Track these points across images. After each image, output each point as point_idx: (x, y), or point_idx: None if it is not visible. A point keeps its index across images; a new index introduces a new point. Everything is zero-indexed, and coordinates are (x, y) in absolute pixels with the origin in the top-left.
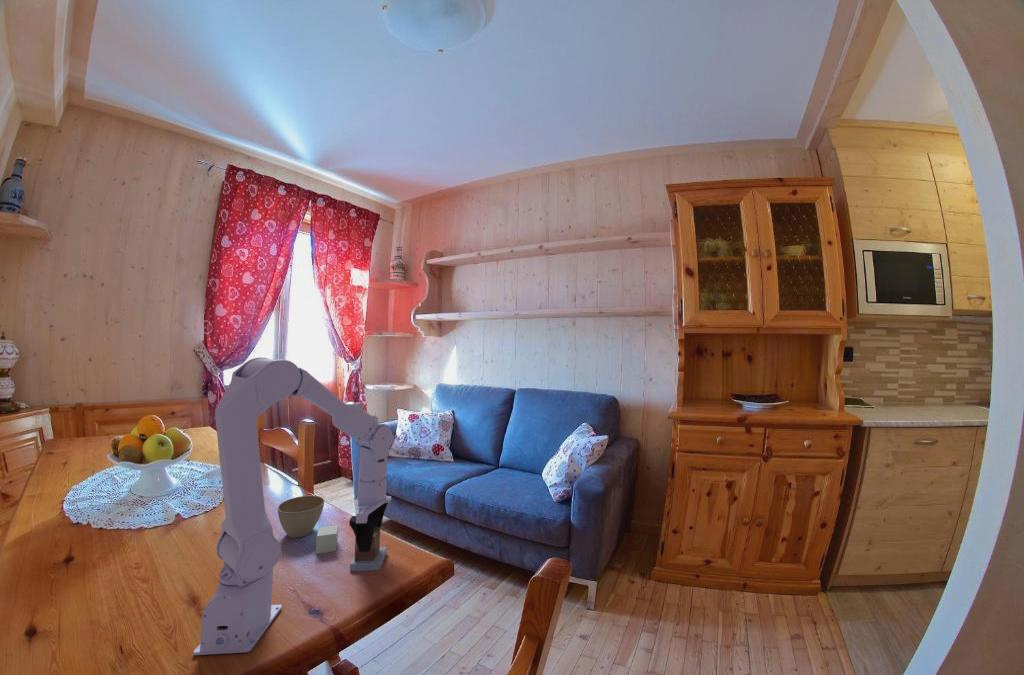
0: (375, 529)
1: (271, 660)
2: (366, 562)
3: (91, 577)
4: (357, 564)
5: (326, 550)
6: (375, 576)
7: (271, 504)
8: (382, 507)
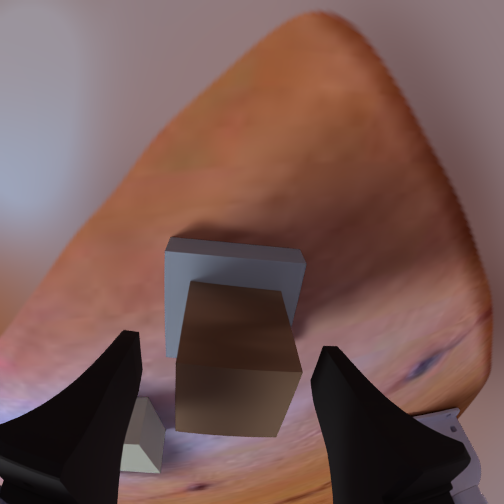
0: (209, 382)
1: (487, 374)
2: (288, 316)
3: None
4: None
5: (155, 418)
6: (338, 259)
7: None
8: (90, 449)
